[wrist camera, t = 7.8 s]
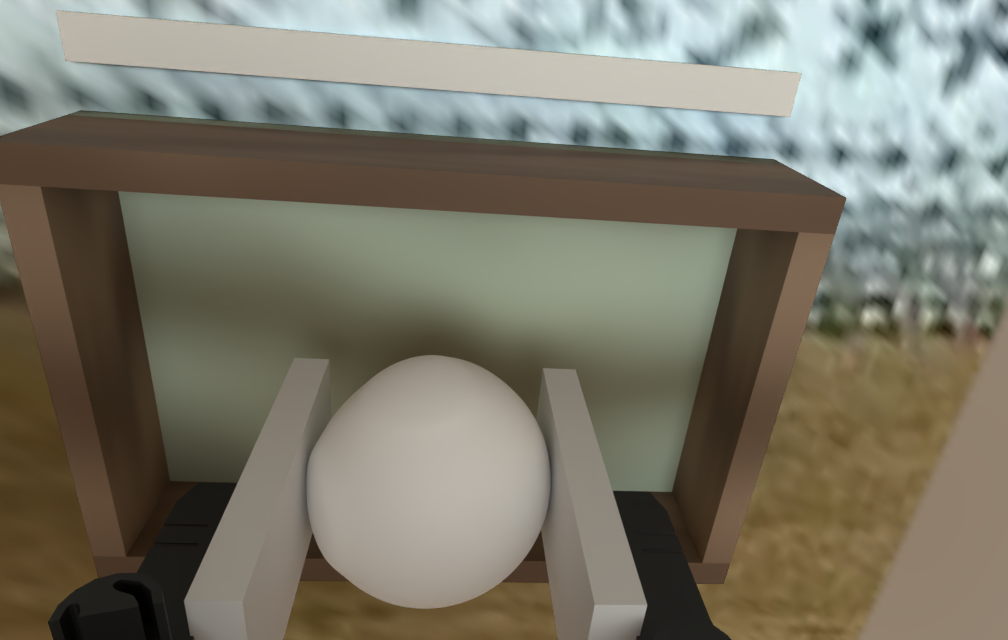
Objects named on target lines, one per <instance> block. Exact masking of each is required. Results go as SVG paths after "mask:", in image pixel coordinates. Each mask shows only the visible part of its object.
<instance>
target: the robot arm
mask: <svg viewBox="0 0 1008 640" xmlns="http://www.w3.org/2000/svg"><path fill="white" fill-rule="evenodd" d="M331 419H332V417H331V392H330V366H329V359H309V358H294V360H293V362H292V365H291V367H290V369H289V371H288V373H287V376H286V378H285V380H284V382H283V384H282V387H281V389H280V391H279V393H278V395H277V398H276V400H275V402H274V404H273V406H272V409H271V411H270V413H269V415H268V417H267V420H266V422H265V424H264V426H263V428H262V431H261V433H260V435H259V437H258V439H257V442H256V444H255V446H254V448H253V450H252V453H251V455H250V457H249V459H248V461H247V464H246V466H245V468H244V470H243V472H242V475H241V477H240V479H239V481H238V483H203V482H199V483H198V484H196V485H195V486H194V487H193V488H192V489H190V490H189V491H188V492H187V493H186V494H185V495H183V496H182V497H181V498H180V499H179V500H177V501H176V503H175V505H174V506H173V508H172V510H171V512H170V514H169V515H168V517H167V519H166V521H165V523H164V527H163V528H161V530H160V532H159V533H158V535H157V537H156V539H155V540H154V542H153V547H151V548H150V549H149V551H148V553H147V555H146V557H145V558H144V560H143V562H142V564H141V566H140V567H139V569H138V571H137V573H116V574H112V575H109V576H105V577H102V578H98V579H95V580H93V581H91V582H89V583H88V584H86V585H84V586H82V587H80V588H78V589H77V590H75V591H74V592H72V593H71V594H70V595H69V596H68V597H67V598H66V599H65V600H64V601H62V602H61V603H60V604H59V605H58V606H57V608H56V610H55V611H54V613H53V615H52V616H51V618H50V620H49V621H48V624H49V627H50V630H51V633H52V636H53V640H283V639H284V635H285V632H286V628H287V624H288V621H289V617H290V613H291V610H292V606H293V602H294V599H295V595H296V591H297V588H298V584H299V580H300V577H301V573H302V569H303V566H304V562H305V558H306V555H307V551H308V547H309V544H310V540H311V537H312V533H313V531H312V528H311V524H310V520H309V514H308V508H307V498H306V474H307V466H308V461H309V457H310V454H311V452H312V450H313V448H314V446H315V444H316V443H317V441H318V439H319V438H320V436H321V434H322V433H323V431H324V429H325V428H326V426H327V424H328V423H329V421H330V420H331ZM536 421H537V423H538V425H539V427H540V430H541V432H542V434H543V437H544V440H545V443H546V447H547V451H548V455H549V461H550V470H551V490H550V499H549V505H548V509H547V513H546V517H545V520H544V523H543V526H542V528H541V532H542V539H543V546H544V552H545V559H546V566H547V572H548V579H549V586H550V592H551V599H552V606H553V612H554V619H555V626H556V632H557V639H558V640H731V639H730V638H729V636H728V635H726V634H725V633H724V632H722V631H721V630H719V629H718V628H716V627H715V626H714V625H713V623H712V622H711V620H710V618H709V615H708V613H707V610H706V607H705V605H704V602H703V600H702V597H701V595H700V592H699V590H698V587H697V585H696V582H695V580H694V577H693V575H692V572H691V570H690V567H689V565H688V562H687V560H686V557H685V555H684V554H683V553H682V547H681V545H680V542H679V540H678V537H677V536H675V530H674V527H673V525H672V522H671V520H670V517H669V515H668V512H667V510H666V509H665V508H664V507H663V506H662V505H661V504H660V503H659V502H658V501H657V500H656V498H655V497H654V496H653V495H652V494H651V493H650V492H643V491H612V488H611V484H610V481H609V478H608V474H607V471H606V468H605V465H604V461H603V458H602V455H601V452H600V448H599V445H598V442H597V438H596V435H595V432H594V429H593V425H592V422H591V419H590V415H589V412H588V409H587V406H586V402H585V399H584V396H583V393H582V389H581V386H580V383H579V379H578V376H577V373H576V370H575V369H553V368H543V372H542V380H541V388H540V396H539V404H538V412H537V420H536Z"/></svg>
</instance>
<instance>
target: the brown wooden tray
mask: <svg viewBox="0 0 1008 640" xmlns="http://www.w3.org/2000/svg"><path fill="white" fill-rule="evenodd" d="M845 201H846V197H844V196H842V195H840V194H838V193H836V192H834V191H833V190H831V189H829V188H827V187H825V186H823V185H821V184H819V183H817V182H816V181H814V180H812V179H810V178H808V177H806V176H804V175H802V174H801V173H799V172H797V171H795V170H793V169H791V168H789V167H787V166H786V165H784V164H782V163H780V162H778V161H776V160H774V159H761V158H747V157H732V156H718V155H704V154H690V153H676V152H662V151H648V150H634V149H619V148H605V147H591V146H577V145H563V144H549V143H535V142H521V141H506V140H492V139H478V138H464V137H450V136H436V135H422V134H408V133H393V132H379V131H365V130H351V129H337V128H323V127H309V126H295V125H280V124H266V123H252V122H238V121H224V120H210V119H196V118H181V117H167V116H153V115H139V114H125V113H111V112H97V111H83V110H81V111H78V112H74V113H71V114H68V115H65V116H62V117H59V118H56V119H52V120H49V121H46V122H43V123H40V124H37V125H34V126H31V127H27V128H24V129H21V130H18V131H15V132H12V133H9V134H5V135H2V136H0V202H1V206H2V210H3V214H4V218H5V221H6V225H7V229H8V233H9V237H10V240H11V244H12V248H13V252H14V256H15V260H16V263H17V267H18V271H19V275H20V279H21V283H22V286H23V290H24V294H25V298H26V302H27V305H28V309H29V313H30V317H31V321H32V325H33V328H34V332H35V336H36V340H37V344H38V348H39V351H40V355H41V359H42V363H43V367H44V370H45V374H46V378H47V382H48V386H49V390H50V393H51V397H52V401H53V405H54V409H55V413H56V416H57V420H58V424H59V428H60V432H61V435H62V439H63V443H64V447H65V451H66V455H67V458H68V462H69V466H70V470H71V474H72V478H73V481H74V485H75V489H76V493H77V497H78V500H79V504H80V508H81V512H82V516H83V520H84V523H85V527H86V531H87V535H88V539H89V543H90V546H91V550H92V554H93V558H94V562H95V565H96V569H97V573H98V577H99V578H102V577H105V576H109V575H112V574H116V573H137V571H138V569H139V567H140V566H141V564H142V562H143V560H144V558H145V557H146V555H147V553H148V551H149V549H150V548H151V547H153V542H154V540H155V539H156V537H157V535H158V533H159V532H160V530H161V528H163V527H164V523H165V521H166V519H167V517H168V515H169V514H170V512H171V510H172V508H173V506H174V505H175V503H176V501H177V500H179V499H180V498H181V497H182V496H183V495H185V494H186V493H187V492H188V491H189V490H190V489H192V488H193V487H194V486H195V485H196V484H198V483H199V482H203V483H238V481H239V479H240V477H241V475H242V472H243V470H244V468H245V466H246V464H247V461H248V459H249V457H250V455H251V453H252V450H253V448H254V446H255V444H256V442H257V439H258V437H259V435H260V433H261V431H262V428H263V426H264V424H265V422H266V420H267V417H268V415H269V413H270V411H271V409H272V406H273V404H274V402H275V400H276V398H277V395H278V393H279V391H280V389H281V387H282V384H283V382H284V380H285V378H286V376H287V373H288V371H289V369H290V367H291V365H292V362H293V360H294V358H309V359H329V366H330V392H331V417H333V416H334V415H335V413H336V412H337V411H338V410H339V408H340V407H341V406H342V405H343V404H344V403H345V402H346V401H347V400H348V399H349V398H350V397H351V396H352V395H353V394H354V393H355V392H356V391H357V390H358V389H360V388H361V387H362V386H363V385H364V384H365V383H367V382H368V381H369V380H370V379H371V378H372V377H374V376H375V375H376V374H378V373H379V372H381V371H382V370H384V369H386V368H387V367H389V366H391V365H393V364H395V363H397V362H400V361H403V360H405V359H409V358H412V357H417V356H424V355H440V356H446V357H452V358H457V359H462V360H465V361H468V362H471V363H473V364H476V365H478V366H480V367H482V368H484V369H486V370H488V371H489V372H491V373H492V374H494V375H495V376H497V377H498V378H500V379H501V380H502V381H503V382H505V383H506V384H507V385H508V386H509V387H510V388H511V389H512V390H514V391H515V392H516V393H517V395H518V396H519V397H520V398H521V399H522V400H523V401H524V403H525V404H526V405H527V407H528V408H529V409H530V411H531V413H532V414H533V416H534V418H535V419H536V420H537V412H538V404H539V396H540V388H541V380H542V372H543V368H553V369H575V370H576V373H577V376H578V379H579V383H580V386H581V389H582V393H583V396H584V399H585V402H586V406H587V409H588V412H589V415H590V419H591V422H592V425H593V429H594V432H595V435H596V438H597V442H598V445H599V448H600V452H601V455H602V458H603V461H604V465H605V468H606V471H607V474H608V478H609V481H610V484H611V488H612V491H643V492H650V493H651V494H652V495H653V496H654V497H655V498H656V500H657V501H658V502H659V503H660V504H661V505H662V506H663V507H664V508H665V509H666V510H667V512H668V515H669V517H670V520H671V522H672V525H673V527H674V530H675V536H677V537H678V540H679V542H680V545H681V547H682V553H683V554H684V555H685V557H686V560H687V562H688V565H689V567H690V570H691V572H692V575H693V577H694V580H695V582H696V584H724V581H725V578H726V575H727V572H728V568H729V565H730V562H731V559H732V556H733V553H734V550H735V546H736V543H737V540H738V537H739V534H740V531H741V528H742V524H743V521H744V518H745V515H746V512H747V509H748V506H749V502H750V499H751V496H752V493H753V490H754V487H755V484H756V480H757V477H758V474H759V471H760V468H761V465H762V462H763V458H764V455H765V452H766V449H767V446H768V443H769V440H770V436H771V433H772V430H773V427H774V424H775V421H776V418H777V414H778V411H779V408H780V405H781V402H782V399H783V396H784V392H785V389H786V386H787V383H788V380H789V377H790V374H791V370H792V367H793V364H794V361H795V358H796V355H797V352H798V348H799V345H800V342H801V339H802V336H803V333H804V330H805V326H806V323H807V320H808V317H809V314H810V311H811V308H812V304H813V301H814V298H815V295H816V292H817V289H818V286H819V282H820V279H821V276H822V273H823V270H824V267H825V264H826V260H827V257H828V254H829V251H830V248H831V245H832V242H833V238H834V235H835V232H836V229H837V226H838V223H839V219H840V216H841V213H842V210H843V207H844V204H845ZM299 581H349V580H347V579H346V578H345V577H344V576H343V575H341V574H340V573H339V572H338V571H336V570H335V569H334V568H333V567H332V566H331V565H330V564H329V563H328V562H327V560H326V559H325V558H324V556H323V555H322V553H321V551H320V549H319V547H318V545H317V542H316V540H315V537H314V534H313V533H312V537H311V540H310V544H309V547H308V551H307V555H306V558H305V562H304V566H303V569H302V573H301V577H300V580H299ZM502 582H532V583H549V579H548V572H547V566H546V559H545V552H544V546H543V539H542V532H541V531H540V533H539V535H538V537H537V539H536V541H535V543H534V545H533V546H532V548H531V550H530V551H529V553H528V554H527V555H526V557H525V558H524V560H523V561H522V562H521V563H520V564H519V566H518V567H517V568H516V569H515V570H514V571H513V572H512V573H511V574H510V575H509V576H508V577H507V578H505V579H504V580H503V581H502Z"/></svg>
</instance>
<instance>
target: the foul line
mask: <svg viewBox="0 0 1008 640" xmlns="http://www.w3.org/2000/svg"><path fill="white" fill-rule="evenodd" d="M56 15H57V20H58V25H59V30H60V35H61V40H62V45H63V50H64V55H65V60H66V61H75V62H88V63H101V64H114V65H127V66H140V67H153V68H166V69H179V70H192V71H205V72H218V73H231V74H244V75H257V76H270V77H282V78H295V79H308V80H321V81H334V82H347V83H360V84H373V85H386V86H399V87H412V88H425V89H438V90H451V91H464V92H477V93H490V94H502V95H515V96H528V97H541V98H554V99H567V100H580V101H593V102H606V103H619V104H632V105H645V106H658V107H671V108H684V109H697V110H710V111H722V112H735V113H748V114H761V115H774V116H787V117H790V116H791V112H792V108H793V104H794V101H795V97H796V93H797V89H798V85H799V82H800V78H801V74H802V73H797V72H786V71H774V70H762V69H751V68H739V67H727V66H715V65H703V64H691V63H679V62H667V61H655V60H643V59H631V58H619V57H608V56H596V55H584V54H572V53H560V52H548V51H536V50H524V49H512V48H500V47H488V46H476V45H465V44H453V43H441V42H429V41H417V40H405V39H393V38H381V37H369V36H357V35H345V34H333V33H322V32H310V31H298V30H286V29H274V28H262V27H250V26H238V25H226V24H214V23H202V22H190V21H178V20H167V19H155V18H143V17H131V16H119V15H107V14H95V13H83V12H71V11H56Z"/></svg>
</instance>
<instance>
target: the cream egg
mask: <svg viewBox="0 0 1008 640" xmlns="http://www.w3.org/2000/svg"><path fill="white" fill-rule="evenodd" d="M550 490H551V470H550V461H549V455H548V451H547V447H546V443H545V440H544V437H543V434H542V432H541V430H540V427H539V425H538V423H537V421H536V419H535V418H534V416H533V414H532V413H531V411H530V409H529V408H528V407H527V405H526V404H525V403H524V401H523V400H522V399H521V398H520V397H519V396H518V395H517V393H516V392H515V391H514V390H512V389H511V388H510V387H509V386H508V385H507V384H506V383H505V382H503V381H502V380H501V379H500V378H498V377H497V376H495V375H494V374H492V373H491V372H489V371H488V370H486V369H484V368H482V367H480V366H478V365H476V364H473V363H471V362H468V361H465V360H462V359H457V358H452V357H446V356H440V355H424V356H417V357H412V358H409V359H405V360H403V361H400V362H397V363H395V364H393V365H391V366H389V367H387V368H386V369H384V370H382V371H381V372H379V373H378V374H376V375H375V376H374V377H372V378H371V379H370V380H369V381H368V382H367V383H365V384H364V385H363V386H362V387H361V388H360V389H358V390H357V391H356V392H355V393H354V394H353V395H352V396H351V397H350V398H349V399H348V400H347V401H346V402H345V403H344V404H343V405H342V406H341V407H340V408H339V410H338V411H337V412H336V413H335V415H334V416H333V417H332V419H331V420H330V421H329V423H328V424H327V426H326V428H325V429H324V431H323V433H322V434H321V436H320V438H319V439H318V441H317V443H316V444H315V446H314V448H313V450H312V452H311V454H310V457H309V461H308V466H307V474H306V498H307V508H308V514H309V520H310V524H311V528H312V531H313V534H314V537H315V540H316V542H317V545H318V547H319V549H320V551H321V553H322V555H323V556H324V558H325V559H326V560H327V562H328V563H329V564H330V565H331V566H332V567H333V568H334V569H335V570H336V571H338V572H339V573H340V574H341V575H343V576H344V577H345V578H346V579H347V580H349V581H350V582H351V583H352V584H354V585H355V586H356V587H358V588H359V589H361V590H362V591H364V592H366V593H367V594H369V595H371V596H373V597H375V598H377V599H380V600H382V601H385V602H387V603H391V604H394V605H398V606H403V607H409V608H420V609H430V608H441V607H447V606H452V605H456V604H460V603H463V602H466V601H468V600H471V599H473V598H476V597H478V596H480V595H482V594H484V593H485V592H487V591H489V590H490V589H492V588H494V587H495V586H496V585H498V584H499V583H500V582H502V581H503V580H504V579H505V578H507V577H508V576H509V575H510V574H511V573H512V572H513V571H514V570H515V569H516V568H517V567H518V566H519V564H520V563H521V562H522V561H523V560H524V558H525V557H526V555H527V554H528V553H529V551H530V550H531V548H532V546H533V545H534V543H535V541H536V539H537V537H538V535H539V533H540V531H541V528H542V526H543V523H544V520H545V517H546V513H547V509H548V505H549V499H550Z"/></svg>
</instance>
